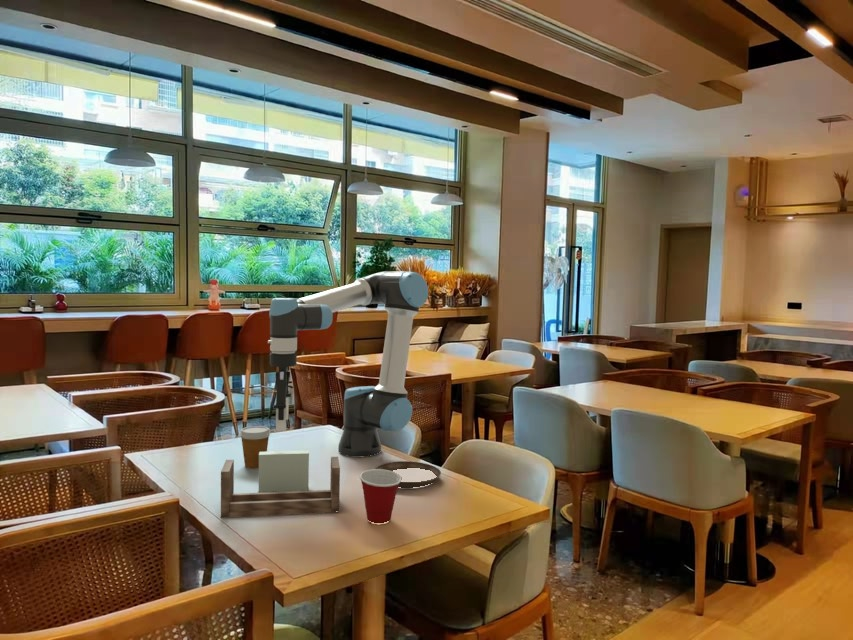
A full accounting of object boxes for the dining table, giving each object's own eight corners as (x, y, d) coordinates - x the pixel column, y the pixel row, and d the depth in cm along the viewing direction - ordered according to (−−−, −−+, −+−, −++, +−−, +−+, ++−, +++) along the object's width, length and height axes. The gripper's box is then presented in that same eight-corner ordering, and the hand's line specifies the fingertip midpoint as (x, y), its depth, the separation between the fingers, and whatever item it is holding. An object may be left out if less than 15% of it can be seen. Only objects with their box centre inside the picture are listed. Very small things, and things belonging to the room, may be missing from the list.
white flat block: (308, 486, 180) (308, 450, 179) (308, 490, 177) (308, 453, 176) (259, 488, 177) (259, 451, 177) (258, 492, 175) (258, 454, 174)
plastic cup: (384, 533, 149) (385, 485, 148) (349, 522, 155) (350, 476, 154) (409, 519, 158) (410, 473, 158) (375, 509, 164) (376, 466, 163)
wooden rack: (337, 498, 171) (338, 456, 171) (339, 512, 162) (340, 467, 161) (225, 503, 166) (226, 459, 165) (220, 517, 156) (220, 471, 155)
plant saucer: (421, 467, 202) (422, 457, 202) (453, 487, 184) (453, 476, 184) (363, 475, 193) (363, 464, 192) (390, 497, 174) (390, 485, 174)
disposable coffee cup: (265, 470, 193) (265, 433, 192) (235, 469, 193) (235, 432, 192) (273, 461, 203) (273, 426, 202) (245, 460, 203) (245, 425, 202)
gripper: (273, 346, 186) (272, 415, 188) (266, 357, 162) (265, 436, 163) (298, 346, 188) (297, 414, 189) (295, 358, 163) (293, 436, 165)
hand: (282, 425), depth 176 cm, fingers open, 13 cm apart
